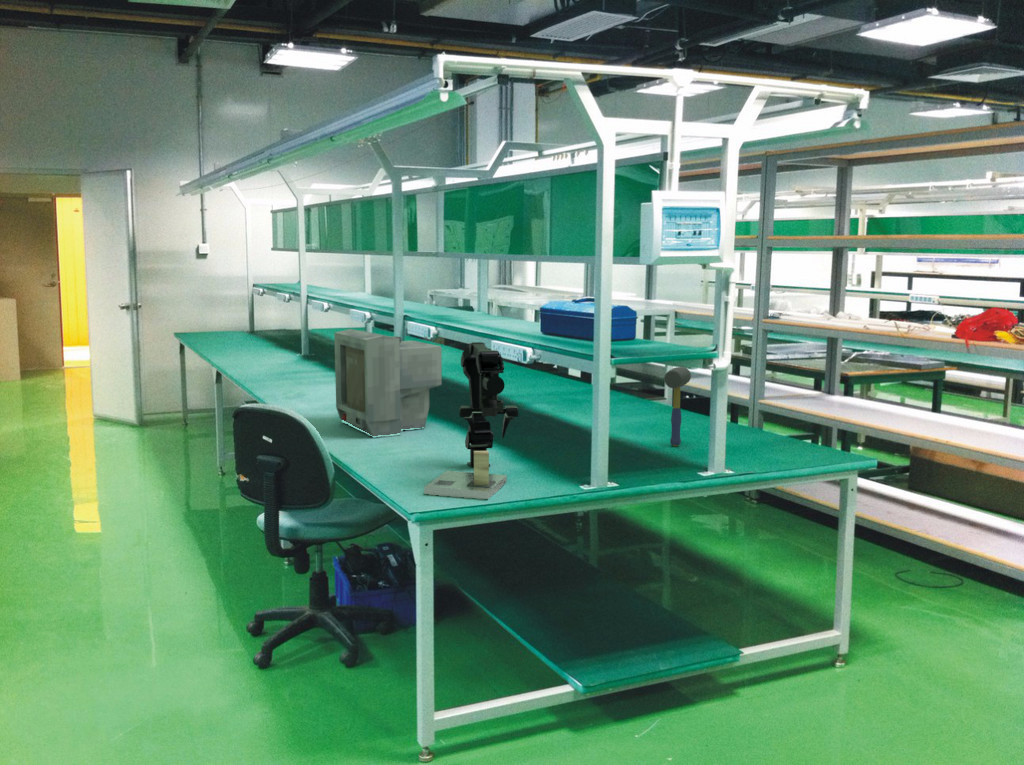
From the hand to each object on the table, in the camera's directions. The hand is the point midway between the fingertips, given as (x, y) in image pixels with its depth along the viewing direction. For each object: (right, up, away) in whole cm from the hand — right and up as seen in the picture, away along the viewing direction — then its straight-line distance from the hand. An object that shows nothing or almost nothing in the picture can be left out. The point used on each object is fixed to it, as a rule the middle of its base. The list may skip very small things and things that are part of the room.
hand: (488, 437), depth 279 cm
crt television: (-42, -1, +84) cm, 93 cm away
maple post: (-2, -13, -16) cm, 21 cm away
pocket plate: (-6, -15, -12) cm, 20 cm away
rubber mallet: (+69, -7, +49) cm, 85 cm away
